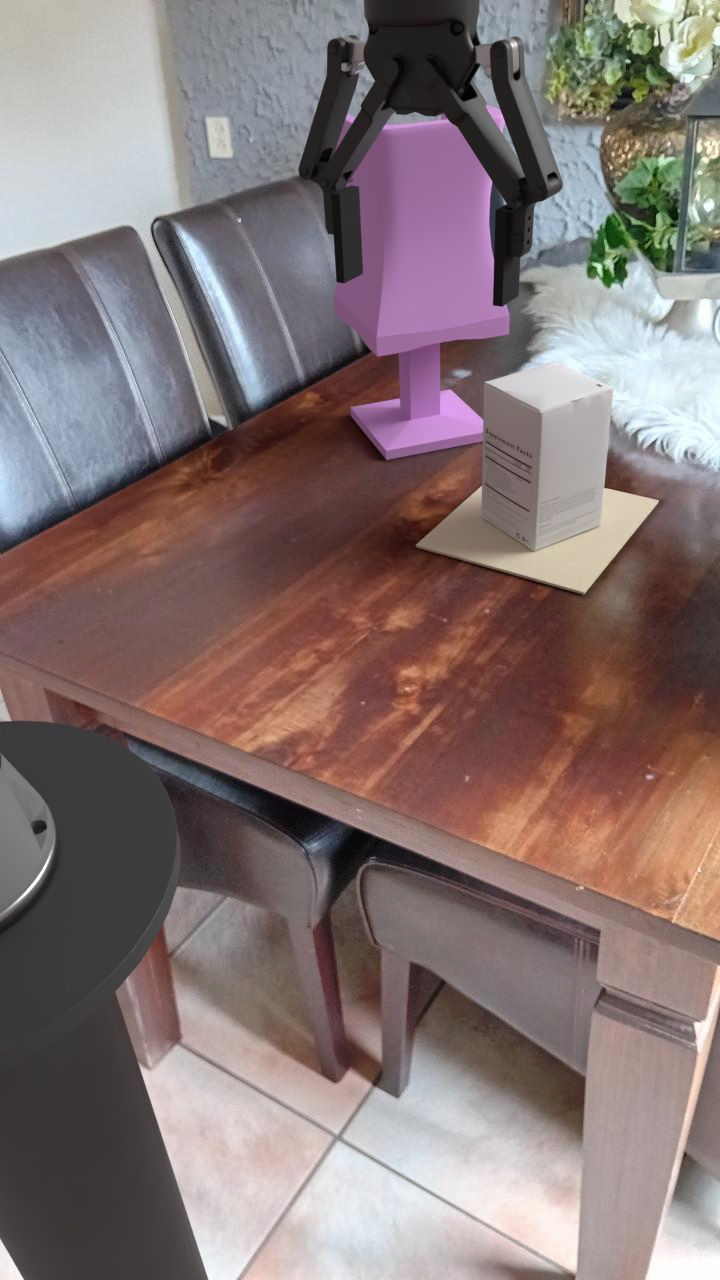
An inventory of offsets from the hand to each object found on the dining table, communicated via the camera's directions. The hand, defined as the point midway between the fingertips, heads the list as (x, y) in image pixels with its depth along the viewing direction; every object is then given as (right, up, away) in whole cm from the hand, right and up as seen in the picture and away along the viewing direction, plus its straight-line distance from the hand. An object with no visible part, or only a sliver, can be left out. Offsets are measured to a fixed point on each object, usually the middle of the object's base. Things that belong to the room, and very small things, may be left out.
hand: (424, 289), depth 76 cm
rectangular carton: (+14, -15, +27) cm, 34 cm away
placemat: (+14, -15, +27) cm, 34 cm away
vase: (+3, 0, +48) cm, 48 cm away
